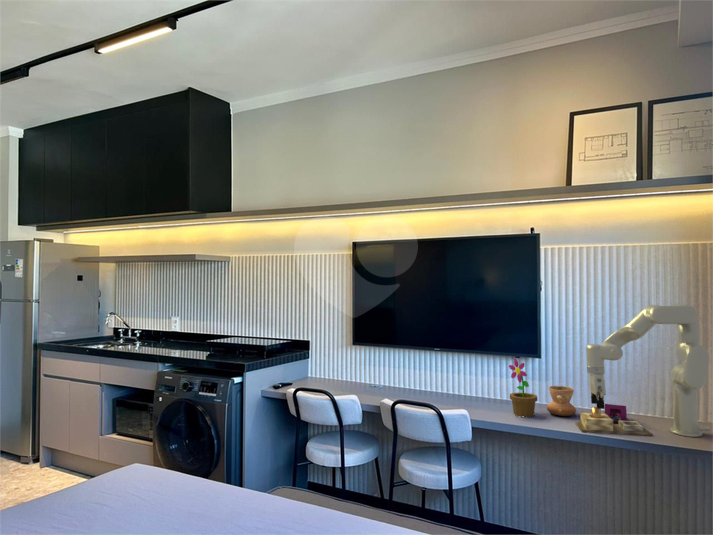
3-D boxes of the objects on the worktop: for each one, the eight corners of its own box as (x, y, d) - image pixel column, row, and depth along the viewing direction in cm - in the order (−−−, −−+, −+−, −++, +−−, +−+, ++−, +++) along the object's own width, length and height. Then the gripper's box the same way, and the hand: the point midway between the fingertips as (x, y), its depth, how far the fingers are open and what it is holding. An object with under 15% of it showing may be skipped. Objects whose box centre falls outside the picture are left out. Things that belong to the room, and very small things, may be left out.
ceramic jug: (574, 420, 251) (574, 392, 252) (544, 416, 258) (544, 388, 259) (577, 412, 266) (577, 386, 267) (549, 409, 274) (549, 383, 274)
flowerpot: (503, 413, 264) (503, 357, 265) (522, 410, 271) (522, 355, 272) (524, 419, 252) (523, 361, 253) (543, 416, 259) (542, 359, 260)
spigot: (599, 425, 238) (599, 406, 238) (602, 428, 234) (601, 408, 234) (590, 425, 238) (590, 406, 239) (593, 427, 234) (592, 408, 235)
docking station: (641, 427, 238) (641, 414, 238) (652, 436, 224) (652, 422, 225) (575, 423, 244) (575, 411, 244) (582, 432, 231) (581, 419, 231)
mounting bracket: (606, 428, 257) (604, 420, 243) (606, 412, 260) (604, 403, 247) (627, 430, 252) (626, 423, 238) (627, 414, 256) (625, 405, 242)
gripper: (609, 373, 227) (611, 410, 227) (599, 367, 244) (601, 401, 244) (592, 373, 229) (594, 410, 228) (583, 367, 246) (584, 401, 245)
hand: (597, 405), depth 236 cm, fingers open, 9 cm apart
